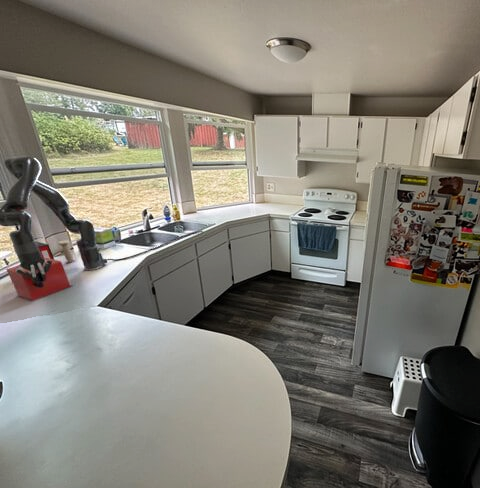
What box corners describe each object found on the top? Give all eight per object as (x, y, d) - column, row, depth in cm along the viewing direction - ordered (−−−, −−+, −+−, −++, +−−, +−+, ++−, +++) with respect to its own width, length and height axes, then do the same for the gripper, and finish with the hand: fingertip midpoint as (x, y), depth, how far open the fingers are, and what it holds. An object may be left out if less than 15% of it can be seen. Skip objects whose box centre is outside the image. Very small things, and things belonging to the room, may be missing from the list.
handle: (65, 264, 172) (57, 243, 167) (66, 261, 177) (59, 241, 171) (75, 262, 175) (67, 242, 170) (76, 259, 180) (69, 239, 174)
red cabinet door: (76, 287, 143) (67, 263, 138) (39, 302, 129) (27, 275, 124) (69, 285, 145) (60, 261, 140) (31, 300, 131) (19, 273, 126)
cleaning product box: (59, 273, 159) (48, 244, 152) (40, 279, 151) (28, 249, 144) (44, 269, 164) (33, 240, 157) (25, 275, 156) (12, 245, 149)
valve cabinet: (69, 286, 146) (59, 261, 140) (31, 300, 131) (19, 273, 126) (56, 282, 149) (46, 257, 144) (18, 295, 135) (6, 269, 129)
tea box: (88, 247, 201) (82, 230, 196) (101, 243, 210) (95, 226, 205) (104, 249, 199) (99, 231, 194) (116, 244, 208) (111, 227, 203)
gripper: (11, 257, 116) (26, 289, 122) (50, 247, 128) (62, 277, 134) (2, 254, 118) (17, 286, 124) (41, 245, 130) (53, 274, 136)
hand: (40, 281), depth 129 cm, fingers closed on red cabinet door, 2 cm apart
